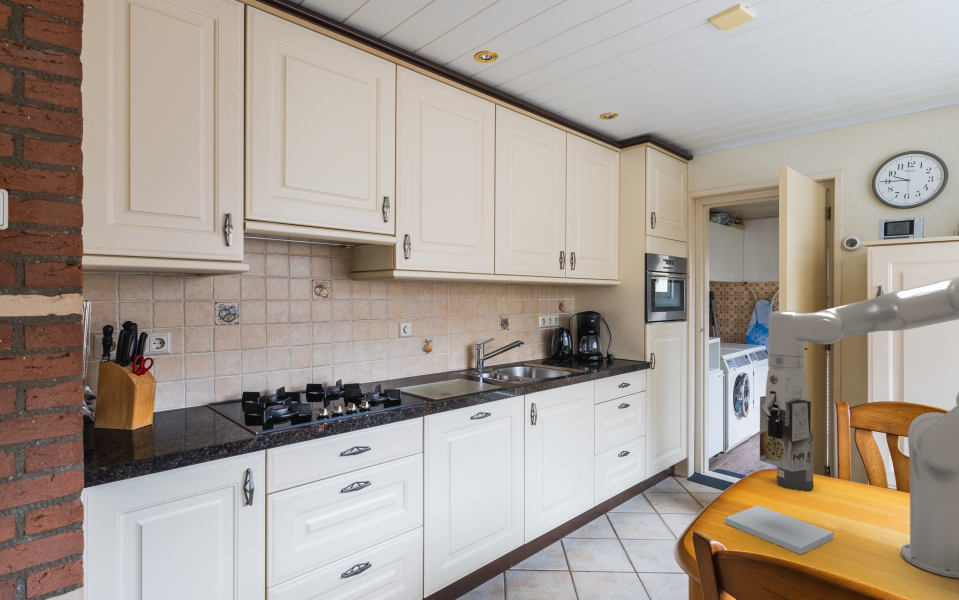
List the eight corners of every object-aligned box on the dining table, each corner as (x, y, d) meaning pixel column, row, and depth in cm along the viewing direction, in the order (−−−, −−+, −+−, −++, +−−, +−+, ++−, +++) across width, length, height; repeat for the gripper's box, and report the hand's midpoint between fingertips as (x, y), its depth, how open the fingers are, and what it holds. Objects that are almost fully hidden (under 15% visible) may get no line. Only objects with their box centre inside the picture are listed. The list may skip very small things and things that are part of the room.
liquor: (812, 482, 154) (811, 383, 153) (813, 492, 146) (813, 388, 145) (777, 477, 158) (776, 381, 158) (776, 487, 150) (776, 385, 150)
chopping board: (833, 538, 118) (833, 532, 118) (800, 554, 111) (800, 548, 111) (758, 510, 134) (758, 505, 134) (725, 523, 127) (725, 517, 127)
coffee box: (811, 469, 120) (812, 401, 120) (791, 472, 118) (792, 403, 118) (776, 457, 129) (778, 393, 128) (757, 460, 126) (759, 395, 126)
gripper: (780, 366, 115) (778, 444, 116) (822, 361, 124) (820, 434, 124) (748, 362, 122) (747, 436, 122) (791, 358, 130) (789, 427, 131)
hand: (784, 434), depth 123 cm, fingers closed on coffee box, 7 cm apart
